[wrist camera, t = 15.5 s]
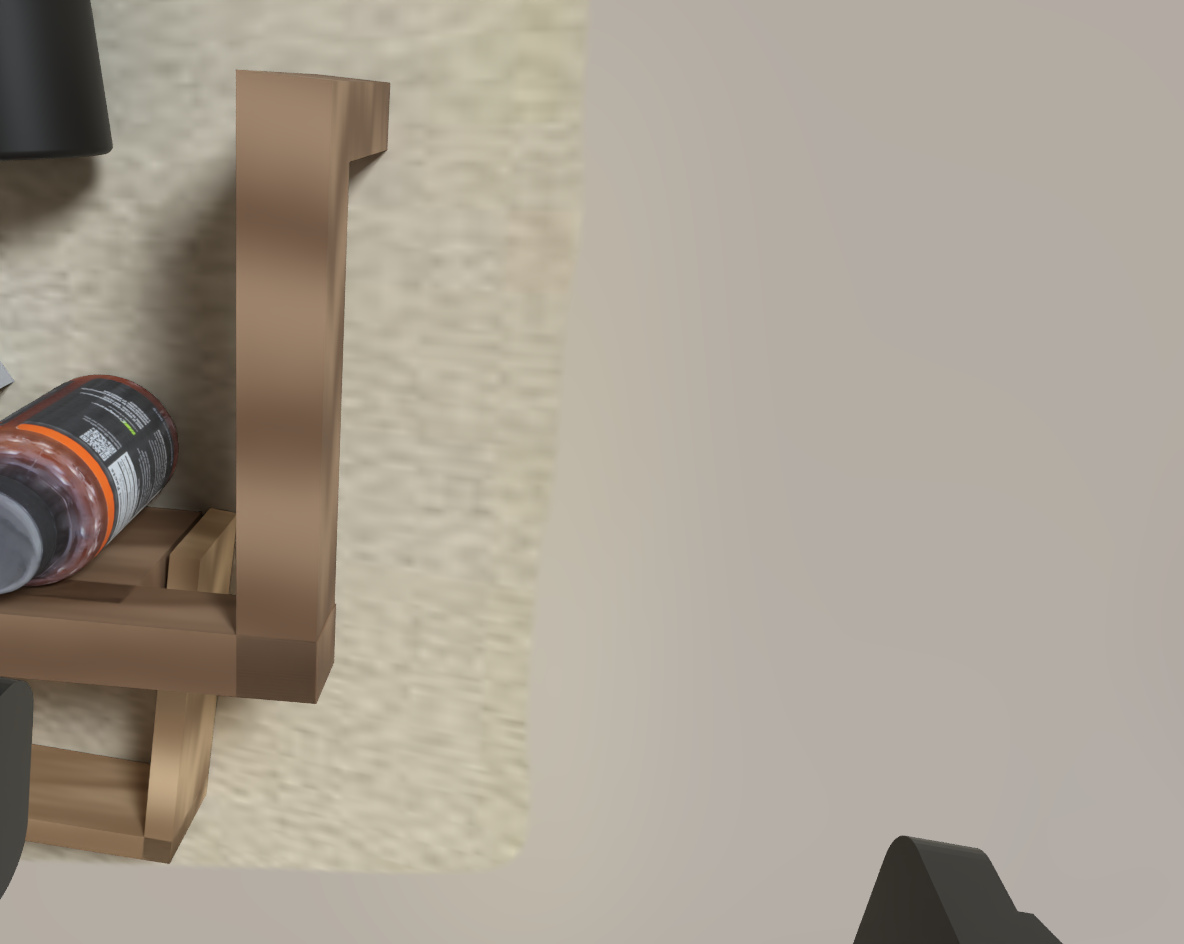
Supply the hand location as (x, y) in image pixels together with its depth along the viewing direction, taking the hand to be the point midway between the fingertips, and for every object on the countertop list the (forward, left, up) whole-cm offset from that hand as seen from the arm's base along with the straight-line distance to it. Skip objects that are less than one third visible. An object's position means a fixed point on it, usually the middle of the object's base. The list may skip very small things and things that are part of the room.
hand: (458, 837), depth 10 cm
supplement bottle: (+11, -17, -36) cm, 42 cm away
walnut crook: (+6, -14, -36) cm, 39 cm away
